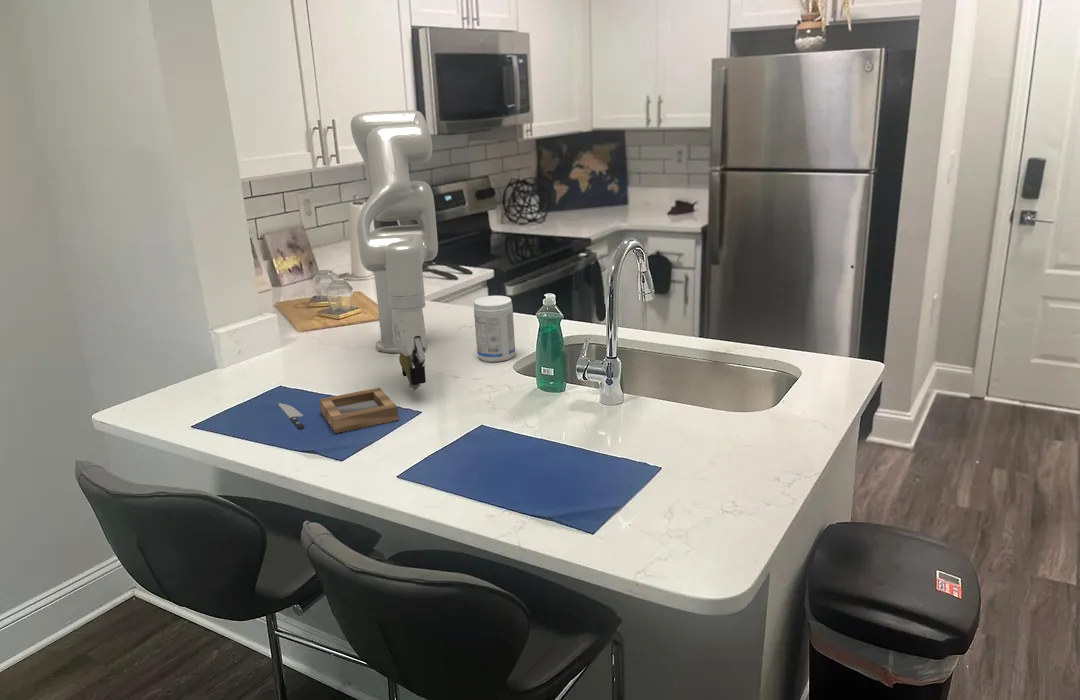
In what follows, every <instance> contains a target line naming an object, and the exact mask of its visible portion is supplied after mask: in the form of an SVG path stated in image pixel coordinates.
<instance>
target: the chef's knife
mask: <svg viewBox="0 0 1080 700" xmlns="http://www.w3.org/2000/svg"><path fill="white" fill-rule="evenodd" d="M277 405H278V406H279V407H280V409H281V410H282V411H283V413H284V414H285V415H286V416H287V417H288V418H289V420H290V421H291V422H292V423H293V424H294V425H295V426H296V428H298V429H299V430H303V429H304V427H305V425H304V424H302V423H300V421H298V418H300V417H304V414H303V413H301V412H300V411H299V410H298V409H296V408H295V407H293V406H292V405H289V404H285V403H282V402H280V403H278V404H277ZM302 428H303V429H302Z"/></svg>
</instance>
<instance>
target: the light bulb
mask: <svg viewBox="0 0 1080 700" xmlns="http://www.w3.org/2000/svg"><path fill="white" fill-rule="evenodd" d="M413 353H417V352H416V350H415V351H413V352H412V354H413ZM413 358H414V360H415V358H417V356H413ZM398 359H399V364H400V366H401V369H402V368H403V370H404V371H405V373H406V376H405V377H407V380H408V387H409V388H410V389H411V390H413V391H415V390H418V388H420V386H421V384H418V385H412V384H411V378H410V368H411V363H410V358H409V356H405V355H403V354H402V353H400V354H399V358H398ZM425 362H426V360H425V361H424V363H425Z"/></svg>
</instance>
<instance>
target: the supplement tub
mask: <svg viewBox="0 0 1080 700" xmlns="http://www.w3.org/2000/svg"><path fill="white" fill-rule="evenodd" d="M473 315H474V316H473V317H474V328H475V330H474V331H475V339H476V340H475V342H476V352H477V354H476V355H477V357H478V358H479V360H481V361H483V362H487V361H488V362H489V363H498V362H499V363H500V362H505V360H506V361H508V360H510V359H512V358H513V357H515V355H516V341H515V328H514V327H515V324H514V309H513V302H512V298H511V297H509V296H505V295H486V296H483V297H477V298H476V299H475V300H474V301H473Z"/></svg>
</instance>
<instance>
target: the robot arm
mask: <svg viewBox="0 0 1080 700" xmlns="http://www.w3.org/2000/svg"><path fill="white" fill-rule="evenodd" d="M350 132H351V136H352V139H353V142H354V144H355V146H356V148H357V150H358V152H359V154H360V156H361V158H362V160H363V161H362V162H363V164H364V166H365V174H366V181H367V191H368V199H367V200H366V201H365V204H364V205H363V207H362V208H361V210H360V212H359V216H358V219H357V223H356V233H357V235H356V236H357V242H358V250H359V251H358V252H359V257H360V258H359V259H360V262H361V264H362V266H363V268H364V269H365V270H367V271H368V272H373V274H374V275H373V276H374V282H375V291H376V293H375V294H376V300H377V301H376V302H377V311H378V312H377V313H378V321H379V322H378V323H379V331H380V339H379V340H378V341H376V343H375V348H376V350H377V351H379V352H382V353H390V354H396V353H397V354H399V353H400V354H401V353H402V354H403V355H405V356H409V358H410V363H411V368H410V378H411V384H412V385H418V384H420V385H421V384H426V383H427V381H426V380H427V379H426V367H425V366H426V364H425V363H424V361H425V362H426V355H425V353H426V352H427V349H428V348H427V347H428V345H427V335H426V334H427V333H426V325H425V324H426V323H425V317H424V313H423V309H424V308H425V307H426V297H425V287H424V285H425V283H424V272H423V265H424V262H430V261H433V260H434V259H435V258H436V257H437V255H438V252H439V243H438V242H439V241H438V232H437V231H438V230H437V229H438V228H437V219H436V208H435V207H436V206H435V199H434V193H433V190H432V187H431V186H430V185H429V183H427V182H426V181H423V180H411V179H410V172H409V165H408V164H410V163H412V164H414V163H426V162H429V161H430V159H431V158H432V156H433V141H432V139H433V138H432V135H431V132H430V129H429V125H428V124H427V121H426V119H425V116H424V115H423V113H422V112H421V111H418V110H413V109H412V110H411V109H410V110H408V109H407V110H385V111H384V110H382V111H368V112H362V113H357V114H356V115H354V116H353V117H352V119H351V121H350ZM374 219H375V221H378V222H396V221H398V222H399V221H413V220H414V221H416V222H418V224H417V223H416V224H405V225H404V224H401V225H400V224H399V225H389V226H383V227H382V226H381V227H377V228H375V229H374V230H372V231H371V230H370V228H371V224H372V222H373V220H374ZM370 231H371V232H370ZM415 350H416V352H417V353H413V354H412V352H413V351H415ZM413 356H417V358H415V360H414V358H413ZM401 371H402V376H403V377H407V376H406V373H405V371H404V370H403V368H402V367H401Z"/></svg>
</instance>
